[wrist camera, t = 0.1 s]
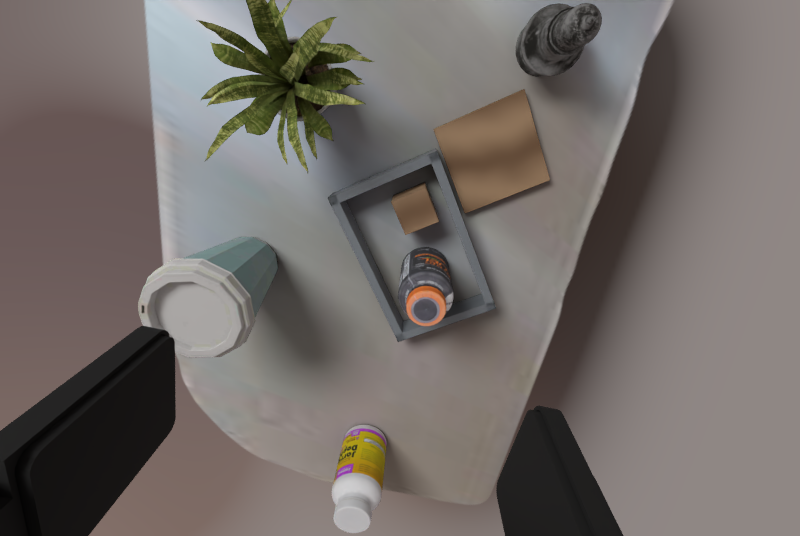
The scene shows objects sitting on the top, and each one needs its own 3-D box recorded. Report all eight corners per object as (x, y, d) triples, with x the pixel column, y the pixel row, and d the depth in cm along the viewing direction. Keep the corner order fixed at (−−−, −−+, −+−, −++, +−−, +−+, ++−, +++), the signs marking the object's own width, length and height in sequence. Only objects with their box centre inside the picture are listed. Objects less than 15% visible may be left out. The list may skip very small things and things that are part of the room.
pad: (433, 129, 42) (433, 129, 41) (521, 89, 40) (524, 89, 40) (464, 211, 45) (464, 213, 45) (547, 178, 44) (550, 179, 43)
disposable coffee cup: (300, 233, 47) (251, 282, 33) (288, 308, 51) (240, 379, 37) (215, 212, 47) (129, 252, 33) (210, 289, 51) (131, 354, 37)
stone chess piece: (583, 47, 39) (650, 19, 28) (536, 92, 40) (581, 82, 29) (548, -2, 37) (603, -52, 26) (500, 47, 39) (533, 19, 28)
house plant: (333, 189, 45) (291, 226, 30) (227, 119, 43) (123, 120, 28) (401, 78, 41) (391, 55, 25) (287, -8, 38) (200, -91, 23)
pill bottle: (456, 258, 48) (467, 298, 37) (435, 296, 50) (439, 344, 39) (413, 238, 47) (412, 273, 36) (393, 278, 49) (386, 322, 39)
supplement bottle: (361, 415, 58) (346, 493, 46) (395, 437, 59) (389, 519, 47) (335, 441, 60) (315, 522, 48) (369, 461, 61) (358, 545, 49)
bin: (333, 193, 45) (327, 198, 43) (435, 148, 43) (437, 150, 40) (399, 329, 52) (398, 341, 49) (491, 297, 49) (496, 308, 47)
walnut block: (393, 195, 45) (391, 202, 42) (424, 181, 45) (425, 187, 41) (406, 225, 47) (405, 234, 43) (437, 213, 46) (439, 221, 42)
